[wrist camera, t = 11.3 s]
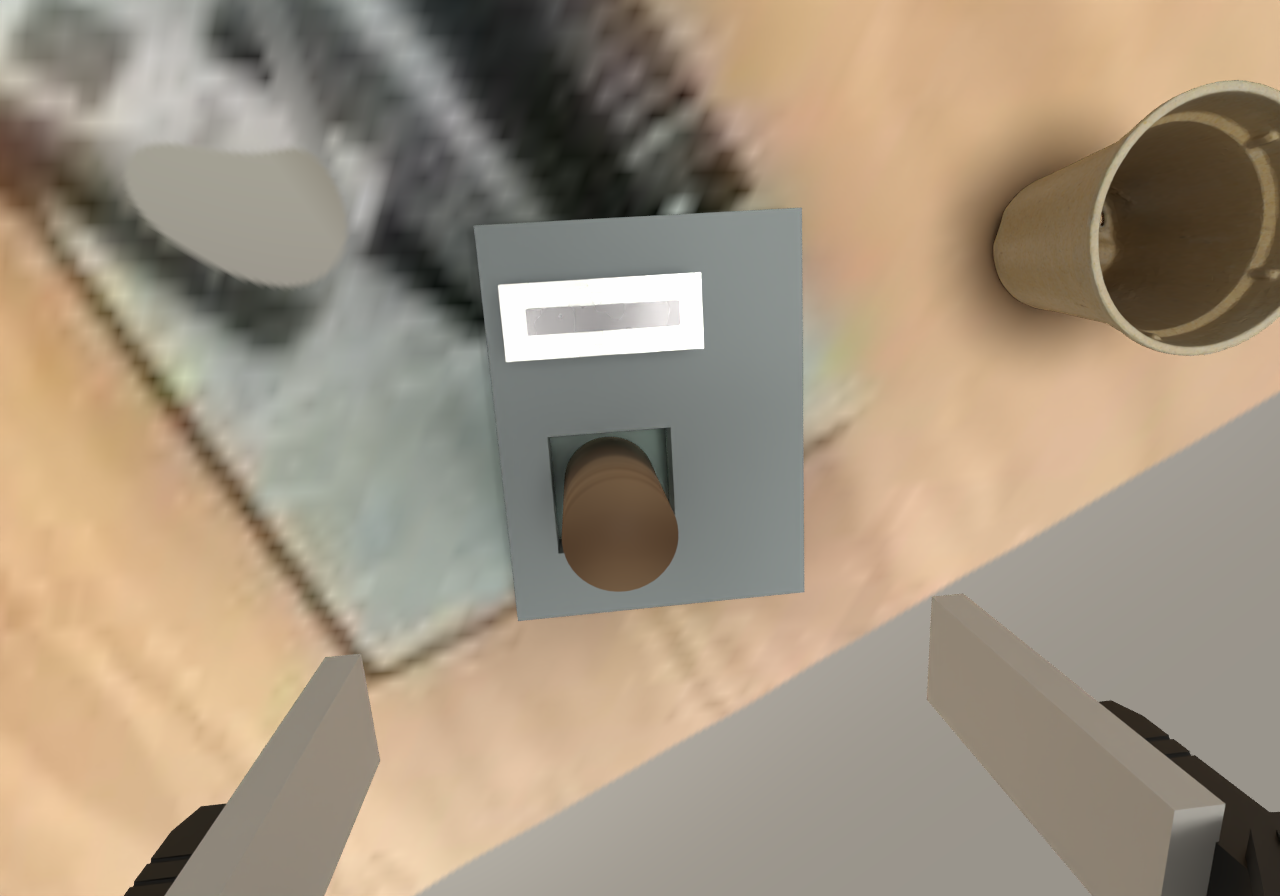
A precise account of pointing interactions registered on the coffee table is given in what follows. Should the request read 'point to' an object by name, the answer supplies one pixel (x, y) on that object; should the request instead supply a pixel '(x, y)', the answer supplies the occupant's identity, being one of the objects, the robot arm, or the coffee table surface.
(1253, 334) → the flower pot
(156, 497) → the coffee table surface
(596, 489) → the walnut peg
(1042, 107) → the coffee table surface
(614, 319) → the bar
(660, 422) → the housing plate
